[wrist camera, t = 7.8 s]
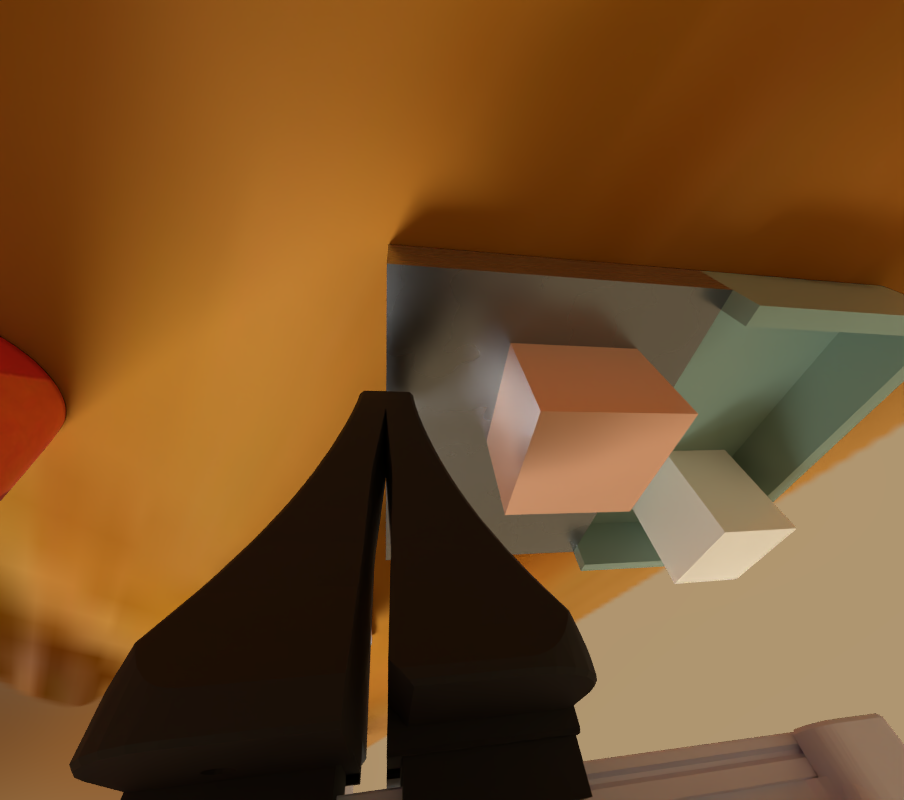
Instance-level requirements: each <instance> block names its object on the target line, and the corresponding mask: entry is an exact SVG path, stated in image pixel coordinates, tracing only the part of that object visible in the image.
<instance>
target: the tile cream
mask: <svg viewBox="0 0 904 800" xmlns="http://www.w3.org/2000/svg"><path fill="white" fill-rule="evenodd" d="M632 509H633V511H634V513H635V514H636V516H637V518H638V520H639V521H640V523H641V525H642V527H643V529H644V530H645V532H646V534H647V536H648V537H649V539H650V541H651V543H652V545H653V546H654V548H655V550H656V552H657V553H658V555H659V557H660V559H661V561H662V562H663V564H664V566H665V568H666V569H667V571H668V573H669V575H670V576H671V578H672V580H673V581H674V583H675V584H678V583H690V582H703V581H717V580H730V579H737V578H738V577H739V576H740V575H742V574H743V573H744V572H745V571H746V570H748V569H749V568H750V567H751V566H752V565H753V564H755V563H756V562H757V561H758V560H760V559H761V558H762V557H763V556H764V555H765V554H767V553H768V552H769V551H770V550H772V549H773V548H774V547H775V546H776V545H777V544H779V543H780V542H781V541H782V540H784V539H785V538H786V537H787V536H788V535H789V534H791V533H792V532H793V531H794V530H795V529H796V527H795V526H794V525H793V524H792V523H791V521H790V520H789V519H788V518H787V517H786V516H785V515H784V514H783V513H782V512H781V511H780V510H779V509H778V507H777V506H776V505H775V504H774V503H773V502H772V501H771V500H770V499H769V498H768V496H767V495H766V494H765V493H764V492H763V491H762V490H761V489H760V488H759V487H758V486H757V484H756V483H755V482H754V481H753V480H752V479H751V478H750V477H749V476H748V475H747V474H746V472H745V471H744V470H743V469H742V468H741V467H740V466H739V465H738V464H737V463H736V462H735V460H734V459H733V458H732V457H731V456H730V455H729V454H728V453H727V452H726V451H725V450H692V451H672V452H671V454H670V455H669V457H668V458H667V459H666V461H665V462H664V464H663V465H662V467H661V468H660V469H659V471H658V472H657V474H656V475H655V477H654V478H653V479H652V481H651V482H650V484H649V485H648V487H647V488H646V489H645V491H644V492H643V494H642V495H641V497H640V498H639V499H638V501H637V502H636V504H635V505H634V507H633V508H632Z"/></svg>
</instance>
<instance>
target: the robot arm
mask: <svg viewBox="0 0 904 800" xmlns="http://www.w3.org/2000/svg"><path fill="white" fill-rule="evenodd" d="M385 479H386V485H387V501H388V515H389V530H390V545H391V570H390V612H389V653H388V725H387V789H382V790H375V791H368V792H362V793H353V785H358V784H360V777H361V765H362V764H363V762H364V761H365V760H366V751H367V725H368V699H369V674H370V650H371V644H372V629H371V627H372V604H373V583H374V564H375V554H376V546H377V538H378V531H379V524H380V516H381V509H382V502H383V494H384V487H385ZM596 681H597V678H596V673H595V670H594V666H593V663H592V660H591V657H590V655H589V652H588V650H587V647H586V645H585V643H584V641H583V638H582V636H581V634H580V632H579V630H578V628H577V626H576V624H575V622H574V620H573V617H572V616H571V614H570V612H569V610H568V609H567V608H566V607H565V606H564V605H562V604H561V603H560V602H559V601H558V600H557V599H556V598H555V597H554V596H553V595H552V594H551V593H550V592H549V591H547V590H546V589H545V588H544V587H543V586H542V585H541V584H540V583H539V582H538V581H537V580H536V579H535V578H534V577H533V576H532V575H531V574H530V573H529V572H528V571H527V570H526V569H525V568H524V567H523V566H522V565H521V563H520V562H519V561H518V560H517V559H516V558H515V557H514V556H513V555H512V554H511V553H510V552H509V551H508V550H507V549H506V547H505V546H504V545H503V544H502V543H501V542H500V540H499V539H498V538H497V537H496V536H495V535H494V533H493V532H492V531H491V530H490V529H489V528H488V526H487V525H486V524H485V523H484V522H483V521H482V519H481V518H480V517H479V516H478V514H477V513H476V512H475V510H474V509H473V508H472V506H471V505H470V504H469V502H468V501H467V500H466V498H465V497H464V495H463V494H462V493H461V491H460V490H459V488H458V487H457V485H456V484H455V482H454V481H453V479H452V478H451V476H450V474H449V473H448V471H447V470H446V468H445V466H444V465H443V463H442V461H441V459H440V458H439V456H438V454H437V452H436V450H435V449H434V447H433V445H432V443H431V441H430V439H429V437H428V435H427V433H426V430H425V428H424V426H423V424H422V421H421V419H420V416H419V414H418V411H417V408H416V405H415V401H414V397H413V395H412V394H411V393H410V392H396V391H363V392H362V393H361V394H360V396H359V399H358V401H357V403H356V405H355V408H354V410H353V412H352V414H351V415H350V417H349V419H348V421H347V423H346V424H345V426H344V428H343V429H342V431H341V433H340V434H339V436H338V437H337V439H336V441H335V442H334V444H333V445H332V447H331V448H330V450H329V451H328V453H327V454H326V456H325V457H324V458H323V460H322V461H321V463H320V464H319V465H318V467H317V468H316V470H315V471H314V472H313V474H312V475H311V476H310V477H309V479H308V480H307V481H306V483H305V484H304V485H303V486H302V487H301V489H300V490H299V491H298V492H297V493H296V495H295V496H294V497H293V498H292V499H291V500H290V502H289V503H288V504H287V505H286V506H285V507H284V508H283V509H282V511H281V512H280V513H279V514H278V515H277V516H276V517H275V518H274V519H273V520H272V521H271V522H270V523H269V525H268V526H267V527H266V528H265V529H264V530H263V531H262V532H261V533H260V534H259V535H258V536H257V537H256V538H255V539H254V540H253V541H252V542H251V543H250V544H249V545H248V546H247V547H246V548H244V549H243V550H242V551H241V552H240V553H239V554H238V555H237V556H236V557H235V558H234V559H233V560H232V561H231V562H229V563H228V564H227V565H226V566H225V567H224V568H223V569H222V570H221V571H220V572H219V573H218V574H217V575H215V576H214V577H213V578H212V579H211V580H210V581H209V582H208V583H207V584H205V585H204V586H203V587H202V588H201V589H200V590H199V591H197V592H196V593H195V594H194V595H193V596H191V597H190V598H189V599H188V600H186V601H185V602H184V603H183V604H182V605H180V606H179V607H178V608H177V609H176V610H174V611H173V612H172V613H171V614H170V615H168V616H167V617H166V618H165V619H164V620H162V621H161V622H160V623H159V624H157V625H156V626H155V627H154V628H153V629H151V630H150V631H149V632H148V633H146V634H145V635H144V636H143V637H142V638H140V639H139V640H138V641H137V642H136V643H135V644H134V646H133V647H132V649H131V651H130V652H129V654H128V656H127V657H126V659H125V661H124V662H123V664H122V666H121V667H120V669H119V670H118V672H117V673H116V675H115V677H114V678H113V680H112V682H111V683H110V685H109V687H108V688H107V690H106V692H105V694H104V696H103V698H102V700H101V702H100V704H99V706H98V708H97V710H96V712H95V714H94V716H93V718H92V720H91V722H90V724H89V726H88V728H87V730H86V732H85V734H84V737H83V738H82V740H81V742H80V744H79V746H78V748H77V750H76V752H75V754H74V756H73V758H72V760H71V762H70V764H69V765H70V768H71V771H72V773H73V776H74V778H77V779H79V780H81V781H84V782H87V783H91V784H96V785H99V786H103V787H107V788H110V789H114V790H119V791H122V792H124V793H123V795H122V798H121V800H904V744H903V742H902V741H901V740H900V738H898V736H897V735H896V733H895V732H894V731H893V729H892V728H891V727H890V726H889V724H888V723H887V722H886V720H885V719H884V718H883V717H882V716H880V715H878V714H876V713H875V714H867V715H860V716H853V717H845V718H838V719H832V720H825V721H821V722H817V723H812V724H809V725H805V726H802V727H800V728H797V729H794V732H790V733H783V734H775V735H769V736H761V737H754V738H747V739H740V740H733V741H726V742H718V743H711V744H704V745H697V746H690V747H682V748H676V749H668V750H661V751H654V752H647V753H640V754H632V755H626V756H618V757H611V758H604V759H597V760H590V761H583V760H582V756H581V752H580V749H579V745H578V741H577V738H576V735H578V734H579V733H580V726H579V722H578V719H577V715H576V712H575V708H574V705H575V704H576V703H577V702H578V701H580V700H581V699H582V698H583V697H584V696H586V695H587V694H588V693H589V692H590V691H591V690H592V689H593V687H594V686H595V684H596Z"/></svg>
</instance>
